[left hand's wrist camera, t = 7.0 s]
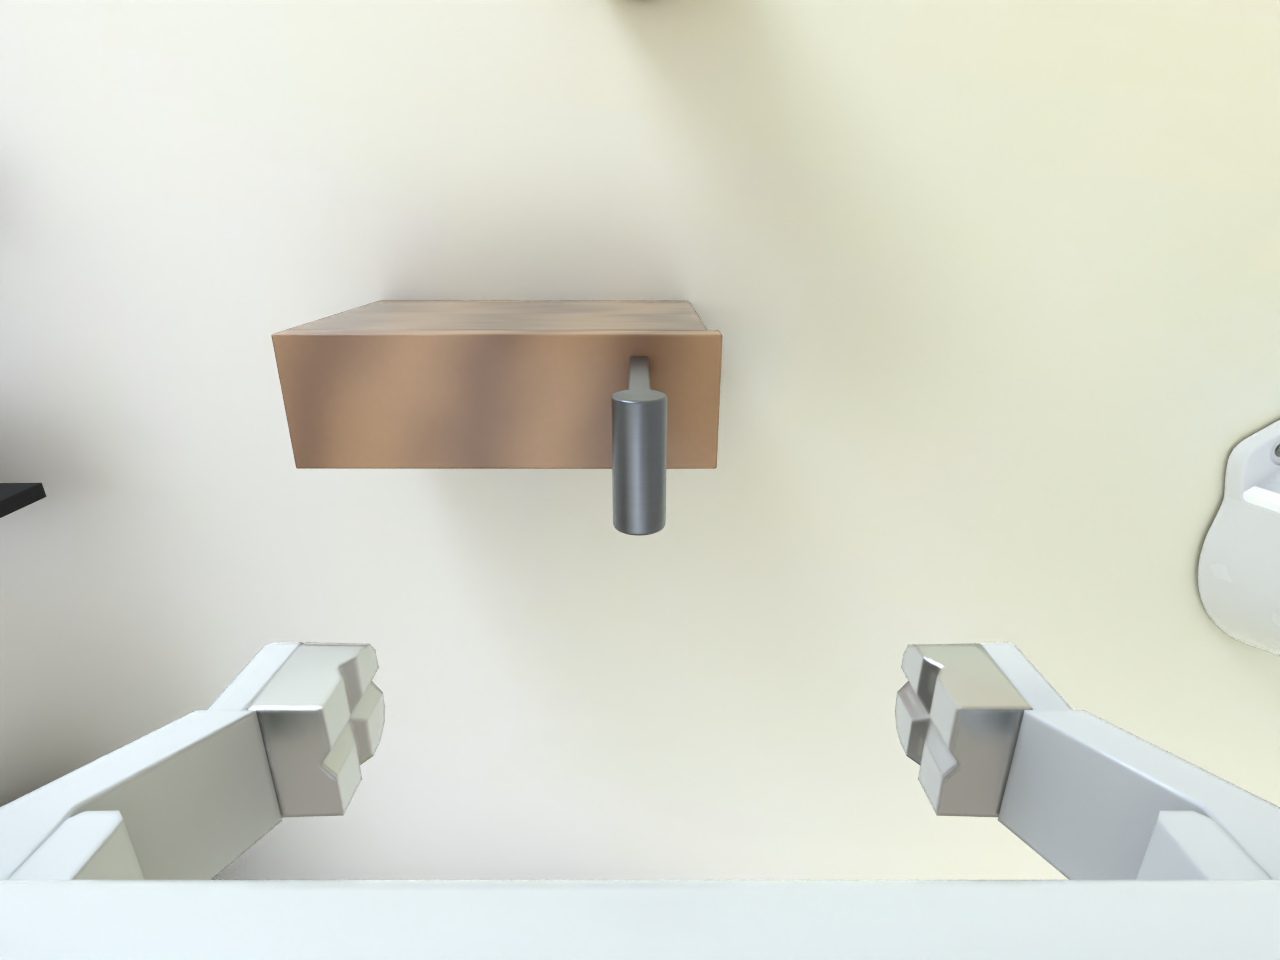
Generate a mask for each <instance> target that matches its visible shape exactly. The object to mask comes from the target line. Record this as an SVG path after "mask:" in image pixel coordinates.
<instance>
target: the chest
mask: <svg viewBox="0 0 1280 960" xmlns="http://www.w3.org/2000/svg"><path fill="white" fill-rule="evenodd" d="M287 330H682V331H707V329H706V328H705V326H704V324H703V323H702V321H701V320H700V318H699V316H698V315H697V313H696V312H695V310H694V308H693V307H692V305H691V304H690V302H689V301H378V302H374V303H371V304H367V305H364V306H361V307H358V308H355V309H351V310H348V311H345V312H342V313H338V314H335V315H332V316H329V317H326V318H322V319H319V320H316V321H313V322H310V323H306V324H303V325H300V326H297V327H293V328H290V329H287Z"/></svg>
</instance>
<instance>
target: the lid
mask: <svg viewBox="0 0 1280 960" xmlns="http://www.w3.org/2000/svg"><path fill="white" fill-rule="evenodd" d="M272 341H273V346H274V351H275V357H276V362H277V367H278V373H279V378H280V383H281V389H282V394H283V399H284V405H285V410H286V416H287V421H288V426H289V432H290V437H291V442H292V448H293V453H294V458H295V464H296V468H581V469H612V472H613V524H614V527H615V528H616V529H617V530H618V531H620V532H622V533H625V534H630V535H649V534H653V533H656V532H659V531H660V530H662V529H663V528H664V526H665V510H666V469H715V468H716V467H717V447H718V424H719V401H720V377H721V354H722V334H721V333H720V332H719V331H682V330H284V331H281V332H278V333H275V334H272Z"/></svg>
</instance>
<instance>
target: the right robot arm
mask: <svg viewBox="0 0 1280 960" xmlns="http://www.w3.org/2000/svg"><path fill="white" fill-rule="evenodd" d="M44 497H46V494H45V491H44V488H43V485H42V483H0V518H1V517H3V516H5V515H8V514H10V513H12V512H14V511H16V510H18V509H21V508H23V507H25V506H27V505H29V504H31V503H33V502H36V501H38V500H40V499H42V498H44Z"/></svg>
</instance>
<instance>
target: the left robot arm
mask: <svg viewBox="0 0 1280 960" xmlns="http://www.w3.org/2000/svg"><path fill="white" fill-rule="evenodd" d="M1279 444H1280V420H1278V421H1276V422H1274V423H1273V424H1271V425H1269V426H1267V427H1265V428H1264V429H1262V430H1260V431H1258V432H1256V433H1255V434H1253V435H1251V436H1249V437H1247V438H1246V439H1244V440H1243V441H1241V442H1240V443H1239V444H1238V445H1236V447H1235V448H1234V449H1233V450H1232V452H1231V454H1230V456H1229V459H1228V463H1227V468H1226V475H1225V491H1224V498H1223V501H1222V504H1221V506H1220V509H1219V511H1218V513H1217V515H1216V517H1215V519H1214V521H1213V523H1212V525H1211V527H1210V529H1209V531H1208V533H1207V536H1206V538H1205V541H1204V543H1203V546H1202V550H1201V554H1200V559H1199V564H1198V588H1199V593H1200V597H1201V601H1202V603H1203V606H1204V608H1205V610H1206V612H1207V614H1208V615H1209V617H1210V618H1211V620H1212V621H1213V622H1214V623H1215V624H1216V625H1217V626H1218V627H1219V628H1220V629H1221V630H1222V631H1223V632H1224V633H1226V634H1227V635H1229V636H1230V637H1232V638H1234V639H1235V640H1237V641H1239V642H1242V643H1244V644H1247V645H1250V646H1253V647H1256V648H1259V649H1263V650H1265V651H1268V652H1271V653H1274V654H1276V655H1279V656H1280V446H1279V448H1278V449H1277V450H1276V451H1275V449H1276V447H1277V446H1278V445H1279ZM378 668H379V666H378V661H377V656H376V651H375V649H374V648H373V647H372V646H371V645H370V644H355V643H307V642H306V643H302V642H274V643H270V644H267V645H265V646H264V647H263V648H262V649H261V650H260V651H259V652H258V653H257V655H256V656H255V657H254V658H253V659H252V660H251V661H250V662H249V664H248V665H247V666H246V667H245V668H244V669H243V670H242V671H241V672H240V674H239V675H238V676H237V677H236V678H235V679H234V680H233V681H232V683H231V684H230V685H229V686H228V687H227V688H226V689H225V690H224V691H223V693H222V694H221V695H220V696H219V697H218V698H217V699H216V700H215V702H214V703H213V704H212V705H211V706H210V707H209V708H208V709H207V710H195V711H193V712H191V713H189V714H187V715H185V716H183V717H181V718H179V719H177V720H175V721H173V722H171V723H169V724H167V725H165V726H163V727H161V728H159V729H157V730H155V731H153V732H151V733H149V734H147V735H145V736H143V737H141V738H139V739H137V740H135V741H133V742H131V743H129V744H127V745H125V746H123V747H121V748H119V749H117V750H115V751H113V752H111V753H109V754H107V755H105V756H103V757H101V758H98V759H96V760H94V761H92V762H90V763H88V764H86V765H84V766H82V767H80V768H78V769H76V770H74V771H72V772H70V773H68V774H66V775H64V776H62V777H60V778H58V779H56V780H54V781H52V782H50V783H48V784H46V785H44V786H42V787H40V788H38V789H36V790H34V791H32V792H30V793H28V794H26V795H24V796H22V797H20V798H18V799H16V800H14V801H12V802H10V803H8V804H6V805H4V806H2V807H0V960H1280V807H1278V806H1276V805H1274V804H1272V803H1270V802H1268V801H1266V800H1264V799H1262V798H1260V797H1258V796H1256V795H1254V794H1252V793H1250V792H1248V791H1246V790H1244V789H1242V788H1240V787H1238V786H1236V785H1234V784H1232V783H1230V782H1228V781H1226V780H1223V779H1221V778H1219V777H1217V776H1215V775H1213V774H1211V773H1209V772H1207V771H1205V770H1203V769H1201V768H1199V767H1197V766H1195V765H1193V764H1191V763H1189V762H1187V761H1185V760H1183V759H1181V758H1179V757H1177V756H1175V755H1173V754H1171V753H1169V752H1167V751H1165V750H1163V749H1161V748H1159V747H1157V746H1155V745H1153V744H1151V743H1149V742H1147V741H1145V740H1143V739H1141V738H1139V737H1137V736H1135V735H1133V734H1131V733H1129V732H1127V731H1125V730H1123V729H1121V728H1119V727H1117V726H1115V725H1113V724H1111V723H1109V722H1107V721H1105V720H1103V719H1101V718H1099V717H1097V716H1095V715H1093V714H1091V713H1089V712H1087V711H1085V710H1073V709H1072V708H1071V707H1070V706H1069V705H1068V704H1067V703H1066V702H1065V700H1064V699H1063V698H1062V697H1061V696H1060V695H1059V694H1058V693H1057V692H1056V690H1055V689H1054V688H1053V687H1052V686H1051V685H1050V684H1049V683H1048V681H1047V680H1046V679H1045V678H1044V677H1043V676H1042V675H1041V674H1040V672H1039V671H1038V670H1037V669H1036V668H1035V667H1034V666H1033V665H1032V664H1031V662H1030V661H1029V660H1028V659H1027V658H1026V657H1025V656H1024V655H1023V653H1022V652H1021V651H1020V650H1019V649H1018V648H1017V647H1016V646H1015V645H1013V644H1011V643H1009V642H989V643H974V644H922V645H908V646H907V648H906V650H905V652H904V655H903V660H902V666H901V668H902V670H903V672H904V674H905V675H906V677H907V679H908V682H907V683H906V684H905V685H904V686H903V687H902V688H901V689H900V690H899V691H898V692H897V699H896V707H895V716H896V727H897V732H898V736H899V739H900V743H901V745H902V747H903V749H904V751H905V753H906V755H907V756H908V757H909V758H911V759H912V760H913V761H915V762H916V763H918V764H919V765H920V771H919V777H918V779H919V781H920V783H921V785H922V787H923V789H924V791H925V793H926V795H927V797H928V799H929V801H930V803H931V805H932V807H933V809H934V811H935V813H936V815H940V816H975V817H998V821H1000V822H1001V823H1002V824H1003V825H1004V826H1006V827H1007V828H1008V829H1009V830H1010V831H1012V832H1013V833H1014V834H1015V835H1016V836H1018V837H1019V838H1020V839H1021V840H1022V841H1024V842H1025V843H1026V844H1027V845H1028V846H1030V847H1031V848H1032V849H1033V850H1034V851H1036V852H1037V853H1038V854H1039V855H1040V856H1041V857H1043V858H1044V859H1045V860H1046V861H1047V862H1049V863H1050V864H1051V865H1052V866H1053V867H1055V868H1056V869H1057V870H1058V871H1059V872H1061V873H1062V874H1063V875H1064V876H1065V877H1067V878H1068V879H1069V880H211V879H212V878H214V877H215V876H216V875H217V874H218V873H220V872H221V871H222V870H223V869H224V868H226V867H227V866H228V865H229V864H230V863H232V862H233V861H234V860H235V859H236V858H238V857H239V856H240V855H241V854H242V853H244V852H245V851H246V850H247V849H248V848H250V847H251V846H252V845H253V844H254V843H256V842H257V841H258V840H259V839H260V838H262V837H263V836H264V835H265V834H266V833H268V832H269V831H270V830H271V829H272V828H274V827H275V826H276V825H277V824H278V823H279V822H281V821H282V817H304V816H338V815H344V813H345V811H346V809H347V807H348V805H349V803H350V801H351V799H352V797H353V795H354V793H355V791H356V789H357V787H358V785H359V783H360V781H361V779H362V777H361V772H360V765H361V764H362V763H364V762H365V761H367V760H368V759H369V758H371V757H372V756H373V755H374V753H375V751H376V749H377V747H378V745H379V743H380V740H381V735H382V731H383V726H384V720H385V705H384V698H383V692H382V691H381V690H380V689H379V688H378V687H377V686H376V685H375V684H374V683H373V682H372V679H373V677H374V675H375V674H376V672H377V670H378Z"/></svg>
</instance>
